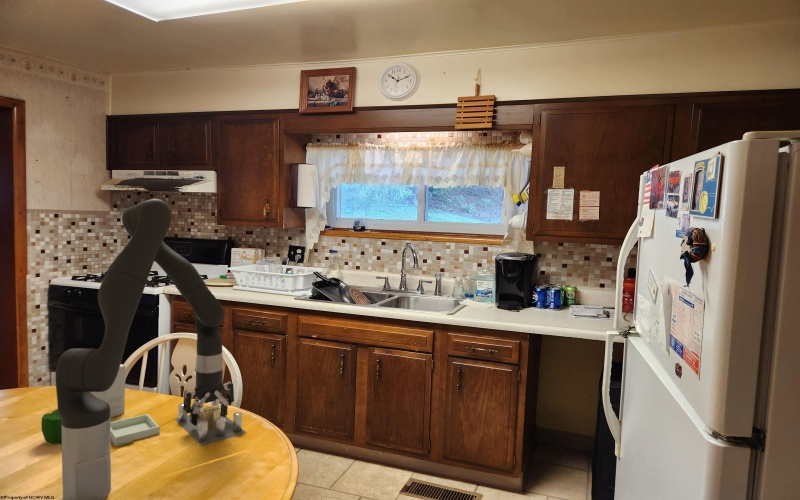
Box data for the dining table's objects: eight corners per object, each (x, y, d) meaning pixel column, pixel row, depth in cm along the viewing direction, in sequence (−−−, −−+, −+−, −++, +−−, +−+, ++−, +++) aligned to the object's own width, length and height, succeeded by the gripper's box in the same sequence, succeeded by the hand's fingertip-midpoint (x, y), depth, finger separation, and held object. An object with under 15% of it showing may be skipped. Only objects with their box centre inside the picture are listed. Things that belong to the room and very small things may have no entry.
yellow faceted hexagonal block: (221, 426, 148) (221, 410, 148) (204, 431, 145) (205, 414, 144) (213, 420, 153) (214, 404, 152) (197, 424, 149) (197, 408, 149)
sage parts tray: (159, 435, 143) (159, 426, 142) (115, 446, 135) (115, 437, 135) (147, 421, 151) (147, 413, 151) (105, 431, 143) (105, 423, 143)
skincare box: (89, 414, 154) (88, 364, 153) (110, 407, 160) (109, 359, 159) (105, 420, 151) (105, 369, 149) (126, 412, 156) (126, 364, 155)
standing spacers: (243, 430, 146) (243, 414, 146) (200, 442, 138) (200, 425, 137) (217, 410, 160) (217, 395, 159) (177, 420, 151) (177, 404, 151)
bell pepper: (60, 449, 132) (59, 413, 131) (34, 445, 134) (33, 409, 133) (86, 435, 140) (85, 401, 140) (61, 432, 142) (60, 397, 141)
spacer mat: (246, 434, 145) (246, 432, 145) (201, 447, 136) (201, 445, 136) (216, 409, 161) (216, 408, 161) (173, 420, 152) (173, 418, 152)
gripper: (189, 376, 140) (189, 432, 141) (238, 366, 149) (237, 418, 151) (179, 369, 145) (179, 423, 147) (227, 360, 155) (227, 410, 156)
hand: (209, 420), depth 149 cm, fingers open, 8 cm apart
